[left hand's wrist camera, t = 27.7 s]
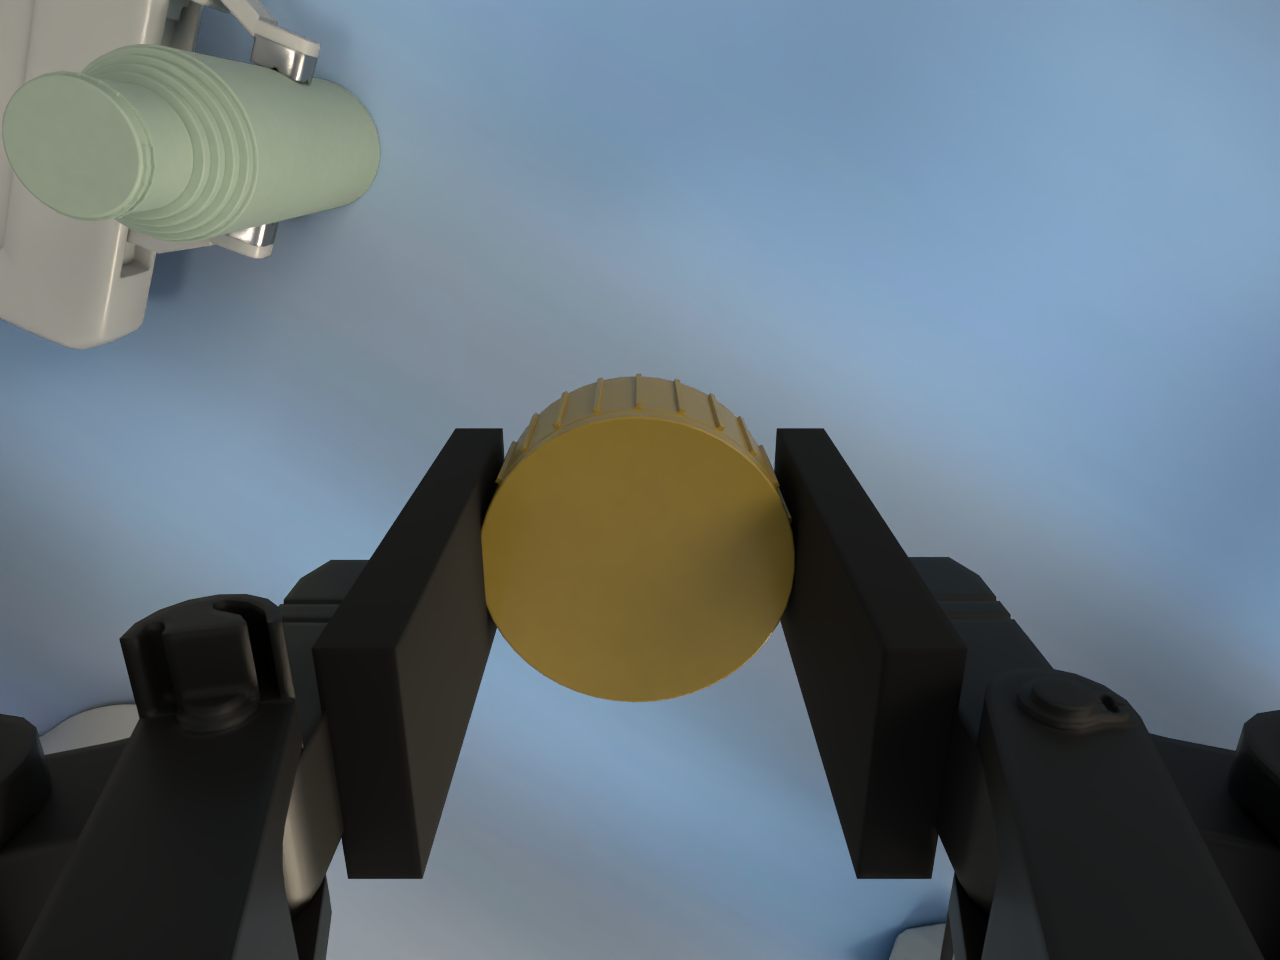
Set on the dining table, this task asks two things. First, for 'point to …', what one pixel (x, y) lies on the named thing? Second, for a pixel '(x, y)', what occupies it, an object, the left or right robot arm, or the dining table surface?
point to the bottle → (187, 143)
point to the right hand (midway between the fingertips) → (290, 153)
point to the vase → (919, 943)
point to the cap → (637, 541)
